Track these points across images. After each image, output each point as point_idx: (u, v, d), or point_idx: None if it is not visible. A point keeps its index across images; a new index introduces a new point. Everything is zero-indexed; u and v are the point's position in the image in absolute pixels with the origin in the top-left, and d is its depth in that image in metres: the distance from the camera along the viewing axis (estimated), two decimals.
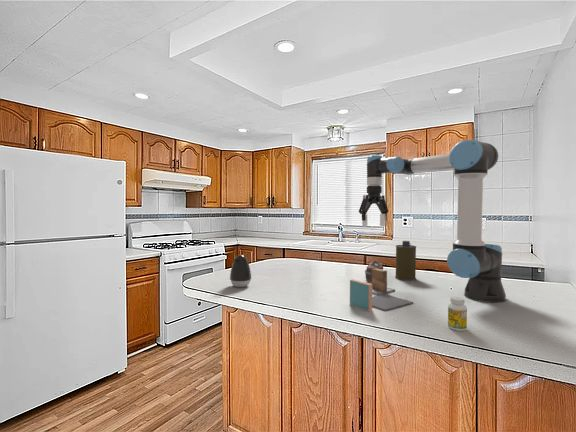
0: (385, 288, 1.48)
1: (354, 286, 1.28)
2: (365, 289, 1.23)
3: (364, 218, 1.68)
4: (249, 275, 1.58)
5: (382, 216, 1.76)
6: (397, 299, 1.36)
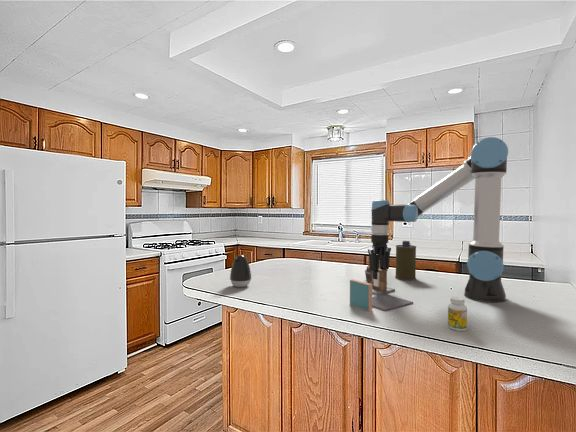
0: (385, 288, 1.48)
1: (354, 286, 1.28)
2: (365, 289, 1.23)
3: (376, 277, 1.48)
4: (249, 275, 1.58)
5: None
6: (397, 299, 1.36)
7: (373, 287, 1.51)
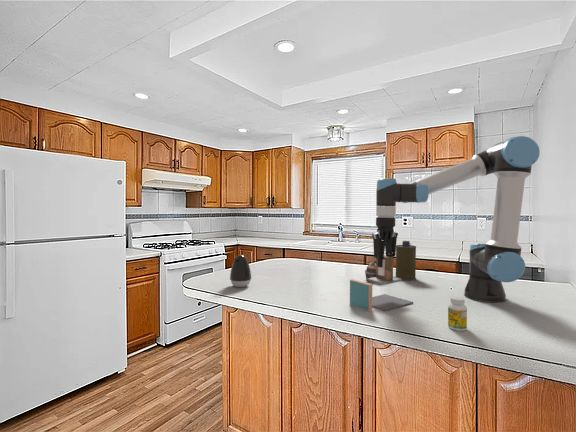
0: (391, 277, 1.32)
1: (354, 286, 1.28)
2: (365, 289, 1.23)
3: (381, 264, 1.32)
4: (249, 275, 1.58)
5: None
6: (397, 299, 1.36)
7: (377, 276, 1.35)
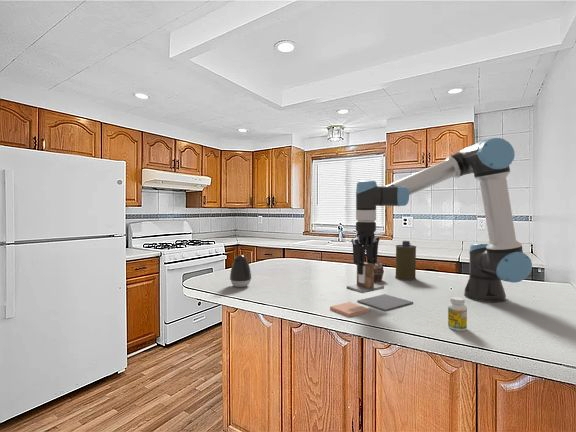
0: (372, 284, 1.26)
1: None
2: None
3: (361, 271, 1.25)
4: (249, 275, 1.58)
5: None
6: (397, 299, 1.36)
7: (358, 284, 1.29)
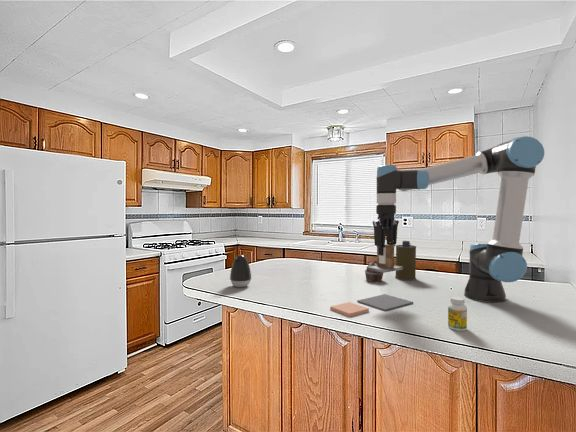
0: (392, 265, 1.30)
1: None
2: None
3: (382, 252, 1.30)
4: (249, 275, 1.58)
5: None
6: (397, 299, 1.36)
7: (378, 265, 1.33)
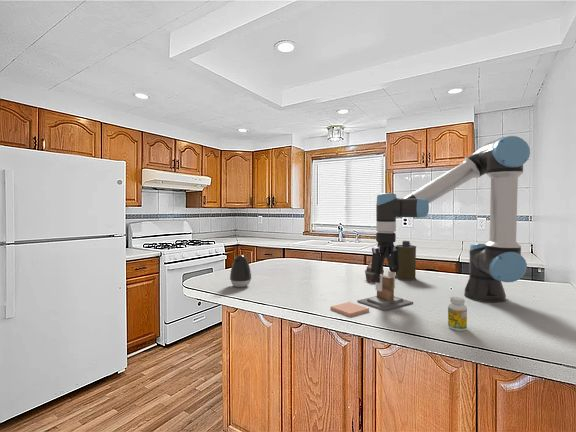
0: (392, 297, 1.31)
1: None
2: None
3: (378, 280, 1.30)
4: (249, 275, 1.58)
5: (391, 275, 1.34)
6: None
7: (378, 296, 1.34)
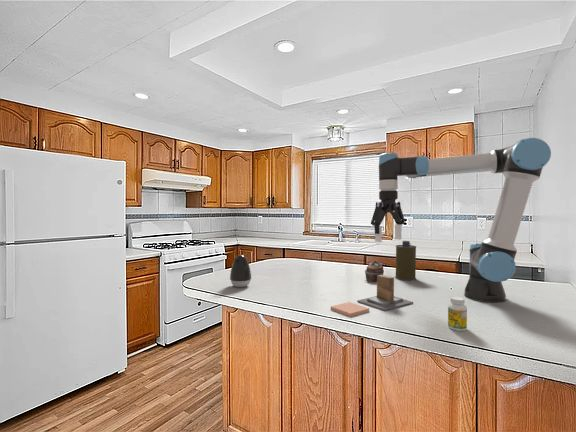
0: (392, 297, 1.31)
1: None
2: None
3: (378, 231, 1.35)
4: (249, 275, 1.58)
5: (398, 227, 1.44)
6: None
7: (378, 296, 1.34)
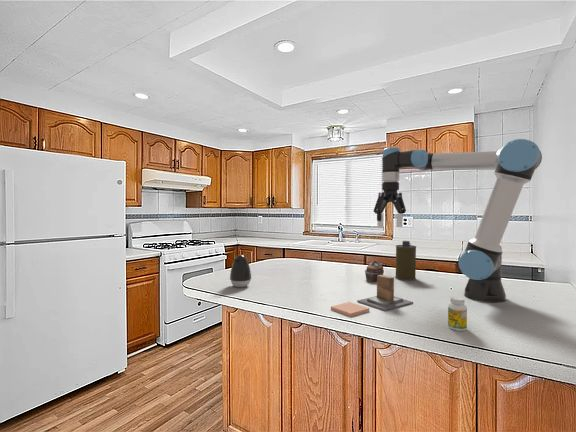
0: (392, 297, 1.31)
1: None
2: None
3: (380, 218, 1.48)
4: (249, 275, 1.58)
5: (399, 216, 1.57)
6: None
7: (378, 296, 1.34)
